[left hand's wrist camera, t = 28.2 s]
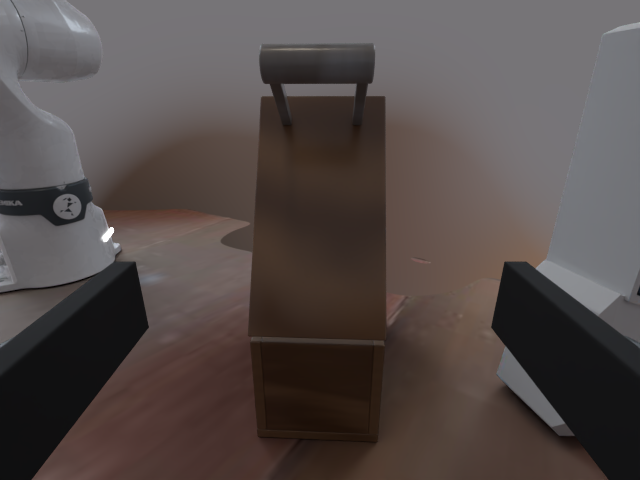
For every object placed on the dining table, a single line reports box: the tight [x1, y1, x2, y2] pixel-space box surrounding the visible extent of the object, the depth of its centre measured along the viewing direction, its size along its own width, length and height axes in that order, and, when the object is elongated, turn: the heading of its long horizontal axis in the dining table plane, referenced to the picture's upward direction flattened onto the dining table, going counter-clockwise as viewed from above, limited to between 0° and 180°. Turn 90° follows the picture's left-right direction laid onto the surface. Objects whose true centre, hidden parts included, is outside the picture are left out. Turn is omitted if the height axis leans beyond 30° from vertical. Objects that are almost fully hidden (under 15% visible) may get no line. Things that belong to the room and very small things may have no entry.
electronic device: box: [496, 22, 640, 436], centre depth 27 cm, size 12×8×30 cm, turn 105°
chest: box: [250, 337, 385, 442], centre depth 35 cm, size 18×10×9 cm, turn 177°
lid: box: [248, 43, 386, 341], centre depth 22 cm, size 18×10×9 cm
